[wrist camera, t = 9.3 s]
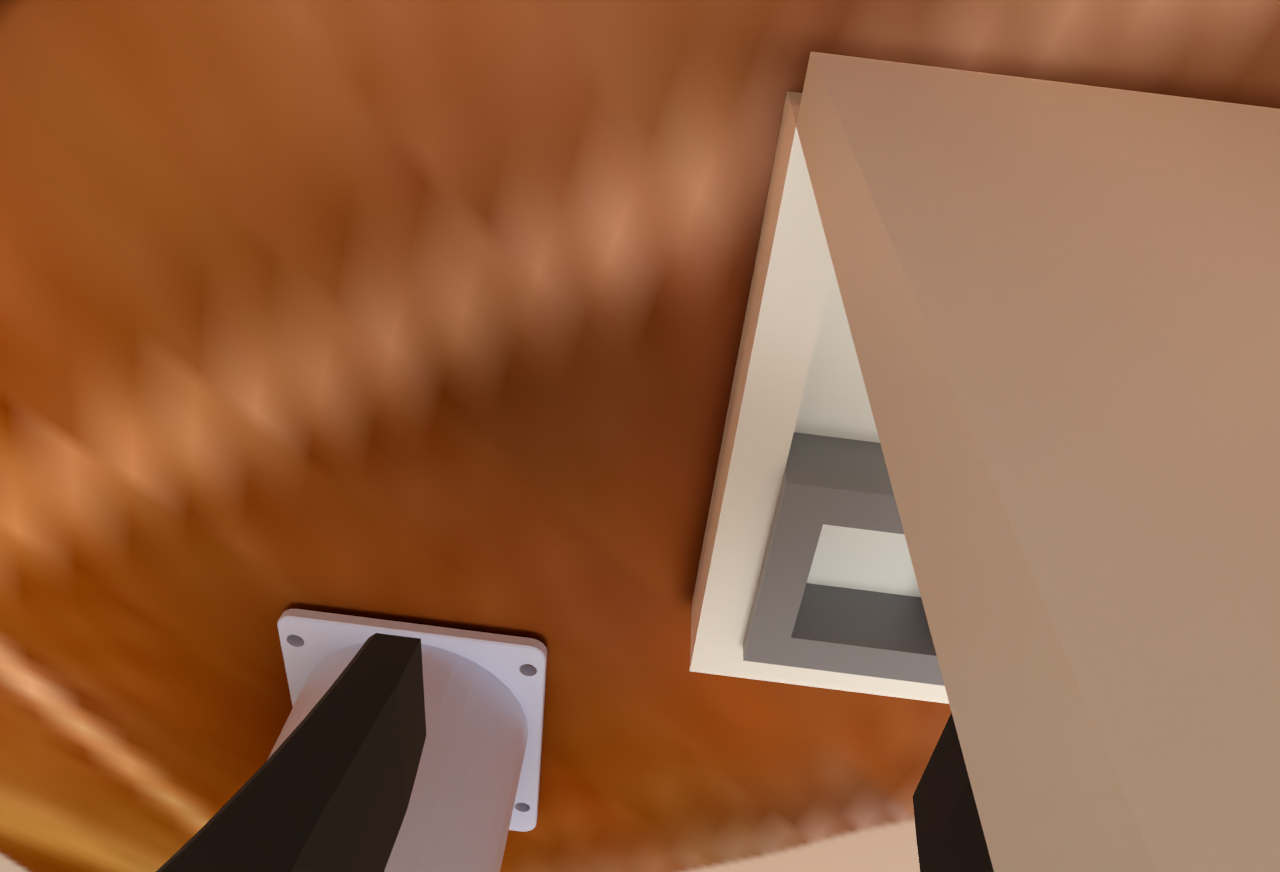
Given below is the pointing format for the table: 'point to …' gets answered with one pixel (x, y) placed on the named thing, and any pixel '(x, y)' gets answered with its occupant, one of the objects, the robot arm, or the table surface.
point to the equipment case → (1021, 450)
